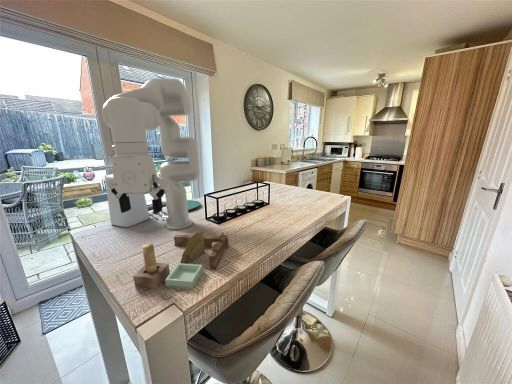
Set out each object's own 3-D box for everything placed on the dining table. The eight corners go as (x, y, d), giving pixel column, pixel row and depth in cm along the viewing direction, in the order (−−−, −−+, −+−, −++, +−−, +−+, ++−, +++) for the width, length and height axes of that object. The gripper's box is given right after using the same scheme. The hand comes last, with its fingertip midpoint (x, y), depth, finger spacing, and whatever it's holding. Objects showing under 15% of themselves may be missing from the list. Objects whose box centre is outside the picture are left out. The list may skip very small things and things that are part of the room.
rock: (181, 266, 68) (210, 253, 73) (173, 241, 70) (202, 230, 75) (181, 268, 78) (206, 257, 82) (173, 247, 80) (199, 237, 84)
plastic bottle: (126, 229, 102) (115, 171, 94) (107, 224, 108) (95, 169, 100) (153, 218, 115) (145, 167, 107) (134, 214, 121) (126, 165, 114)
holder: (135, 287, 62) (133, 276, 61) (149, 272, 69) (148, 262, 68) (157, 289, 61) (155, 277, 60) (170, 274, 68) (168, 263, 67)
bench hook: (155, 265, 73) (152, 246, 71) (177, 243, 88) (175, 226, 86) (217, 269, 70) (215, 249, 68) (228, 246, 85) (228, 229, 83)
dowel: (145, 283, 64) (139, 248, 61) (151, 277, 67) (146, 243, 64) (155, 284, 63) (149, 248, 60) (160, 278, 66) (155, 243, 63)
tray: (166, 286, 62) (165, 279, 62) (179, 269, 70) (178, 263, 70) (192, 289, 61) (191, 281, 61) (203, 271, 69) (202, 264, 69)
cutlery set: (206, 207, 131) (206, 204, 130) (157, 222, 111) (156, 218, 110) (190, 201, 145) (190, 198, 144) (144, 213, 124) (143, 210, 124)
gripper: (89, 150, 52) (103, 215, 57) (154, 150, 50) (163, 217, 55) (113, 149, 60) (123, 206, 64) (170, 148, 57) (177, 208, 62)
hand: (142, 211), depth 59 cm, fingers open, 9 cm apart
